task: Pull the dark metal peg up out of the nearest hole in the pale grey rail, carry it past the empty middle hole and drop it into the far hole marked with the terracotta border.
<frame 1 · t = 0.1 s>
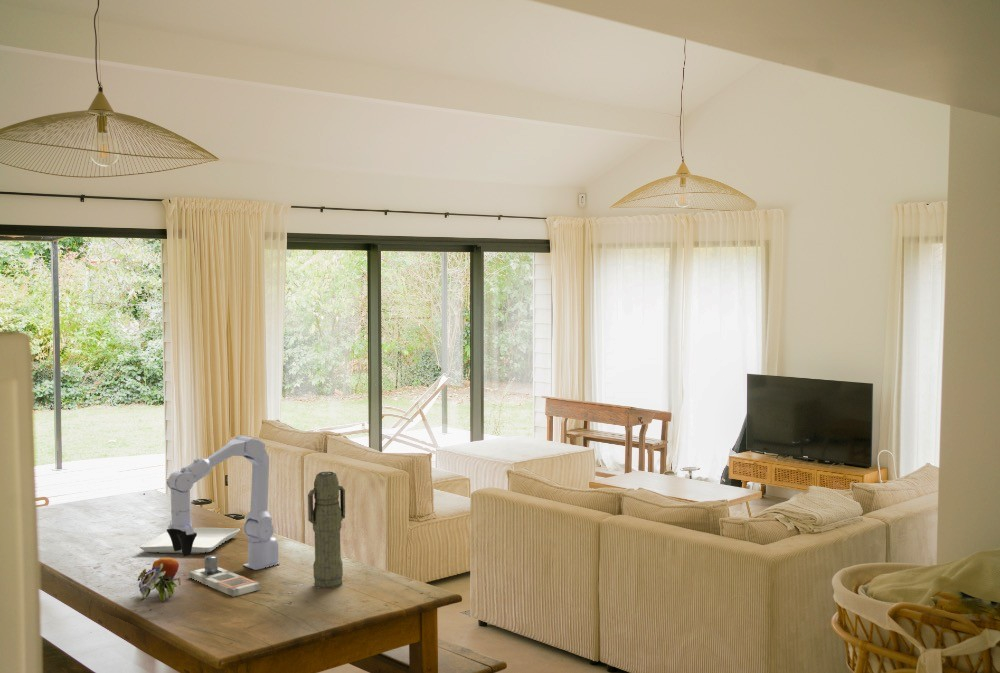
hand: (182, 553, 289), 10 cm above the table, tool pointing down, fingers open, 7 cm apart
thermos: (328, 584, 288), on the table
hole rail: (223, 583, 290), on the table
fruit: (165, 579, 296), on the table
square plate: (191, 547, 337), on the table
passion flower: (158, 597, 278), on the table
metal peg: (211, 578, 296), resting in hole rail
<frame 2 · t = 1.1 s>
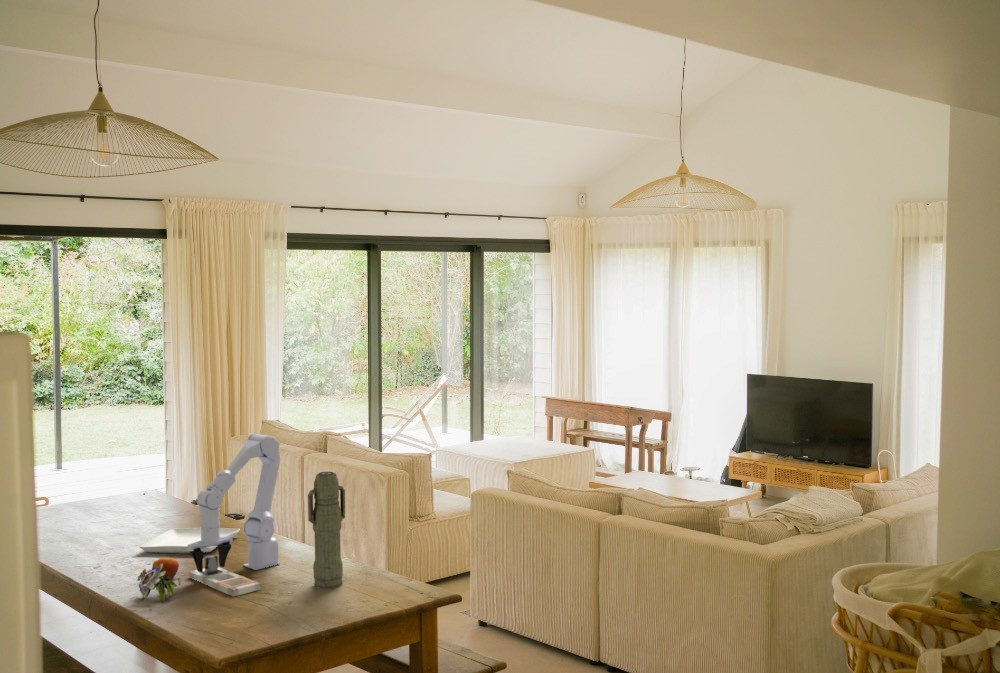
hand: (211, 569, 295), 3 cm above the table, tool pointing down, fingers open, 7 cm apart
nothing on the table moved.
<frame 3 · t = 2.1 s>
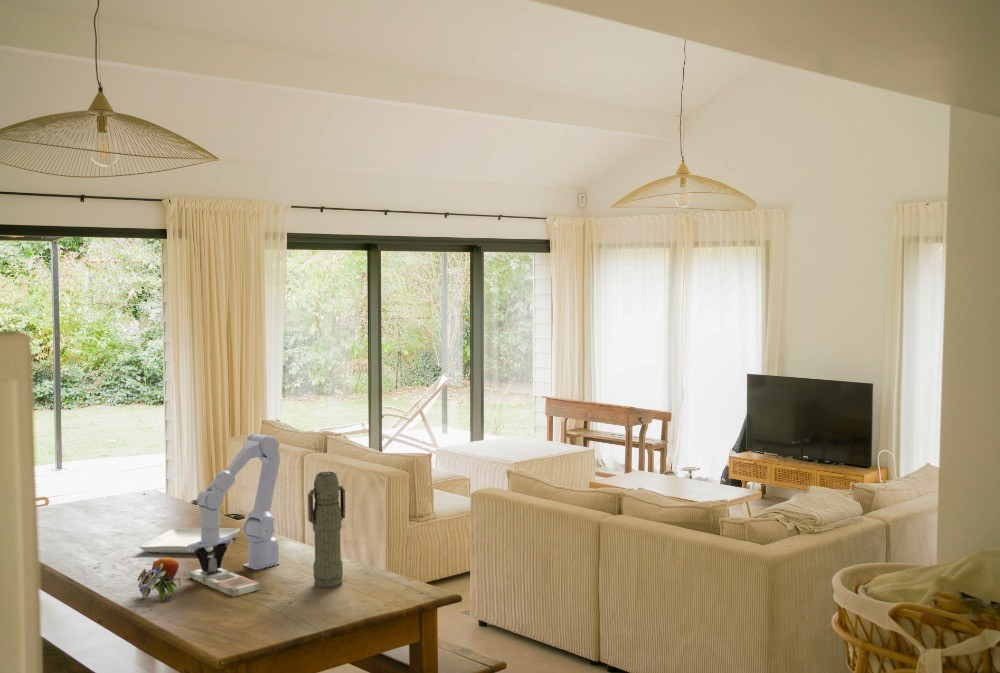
hand: (211, 569, 296), 3 cm above the table, tool pointing down, fingers closed on metal peg, 4 cm apart
metal peg: (211, 578, 296), resting in hole rail, touching gripper
everything else where it was.
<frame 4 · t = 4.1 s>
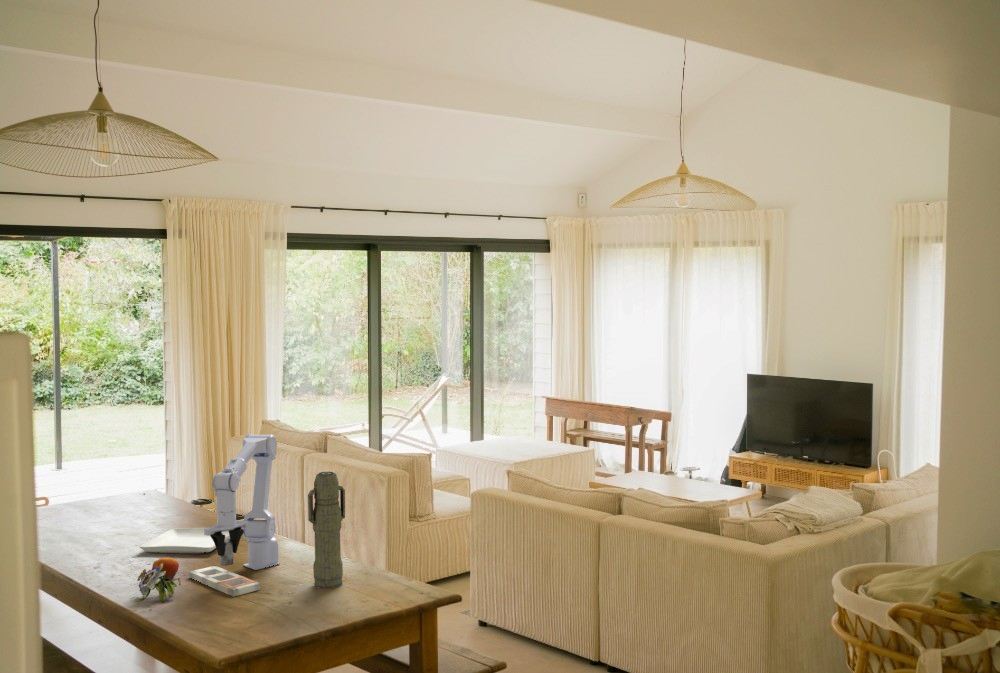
hand: (227, 554, 287), 10 cm above the table, tool pointing down, fingers closed on metal peg, 4 cm apart
metal peg: (226, 563, 288), point 7 cm above the table, touching gripper
everything else where it was.
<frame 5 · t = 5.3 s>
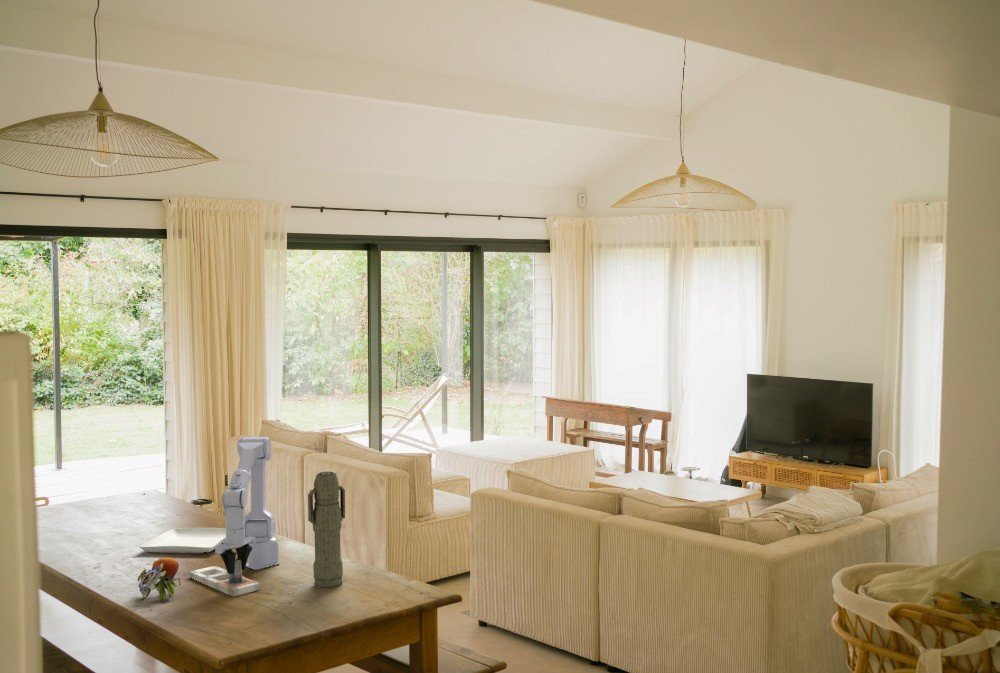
hand: (236, 571, 284), 5 cm above the table, tool pointing down, fingers closed on metal peg, 4 cm apart
metal peg: (235, 581, 284), point 2 cm above the table, touching gripper
everything else where it was.
when the fingers open (4 cm above the table, at t = 6.4 s): metal peg stays where it is, resting in hole rail.
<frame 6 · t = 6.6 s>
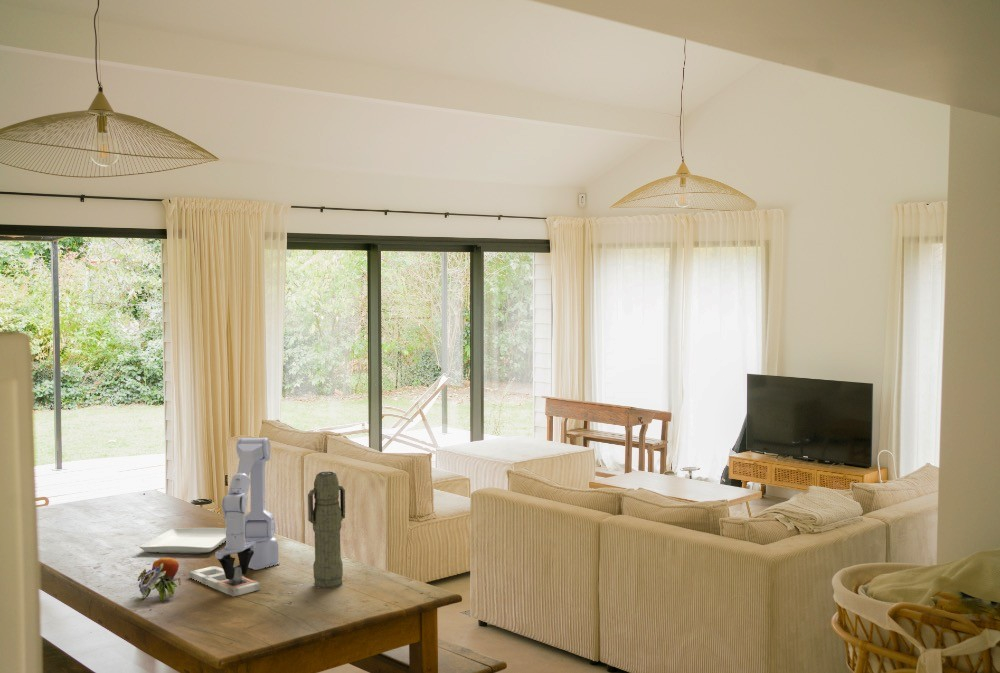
hand: (236, 576, 284), 4 cm above the table, tool pointing down, fingers open, 5 cm apart
metal peg: (235, 588, 285), resting in hole rail
everything else where it was.
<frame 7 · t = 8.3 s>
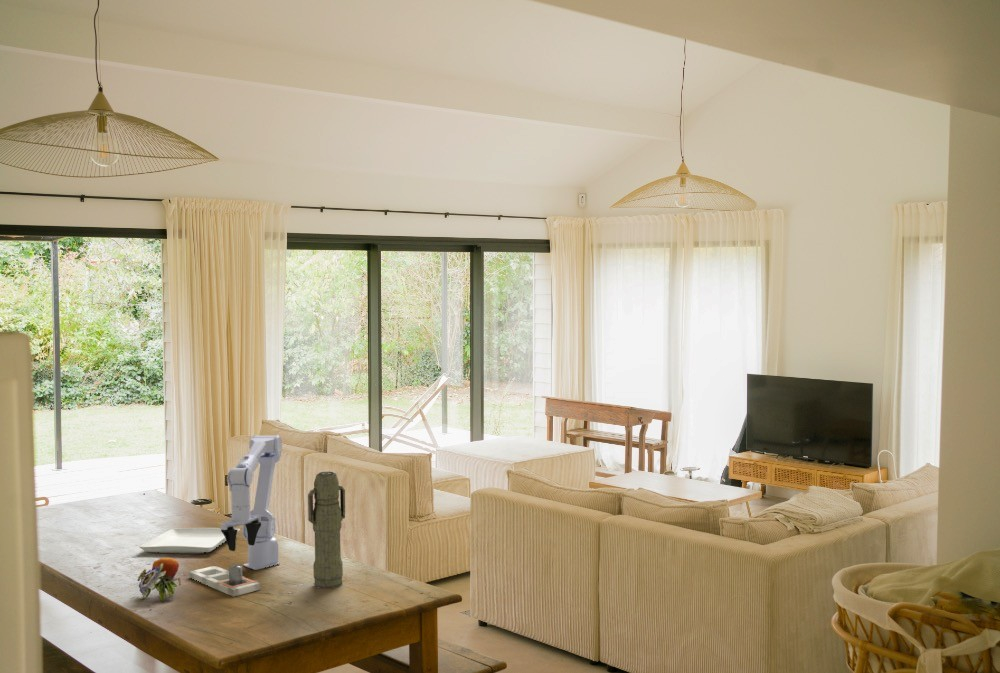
hand: (241, 547, 293), 10 cm above the table, tool pointing down, fingers open, 7 cm apart
nothing on the table moved.
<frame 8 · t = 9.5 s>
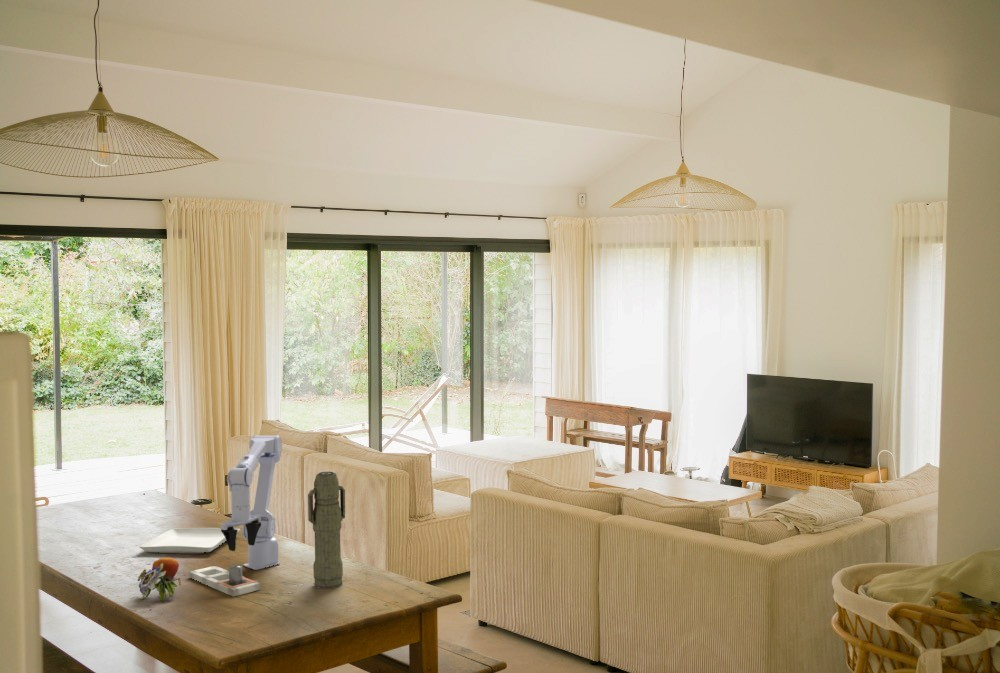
hand: (241, 547, 293), 10 cm above the table, tool pointing down, fingers open, 7 cm apart
nothing on the table moved.
at the end: metal peg 0.5 cm from the target spot on the hole rail, point 0.0 cm above the hole rail's base; metal peg tilted 1°; the gripper is holding nothing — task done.
